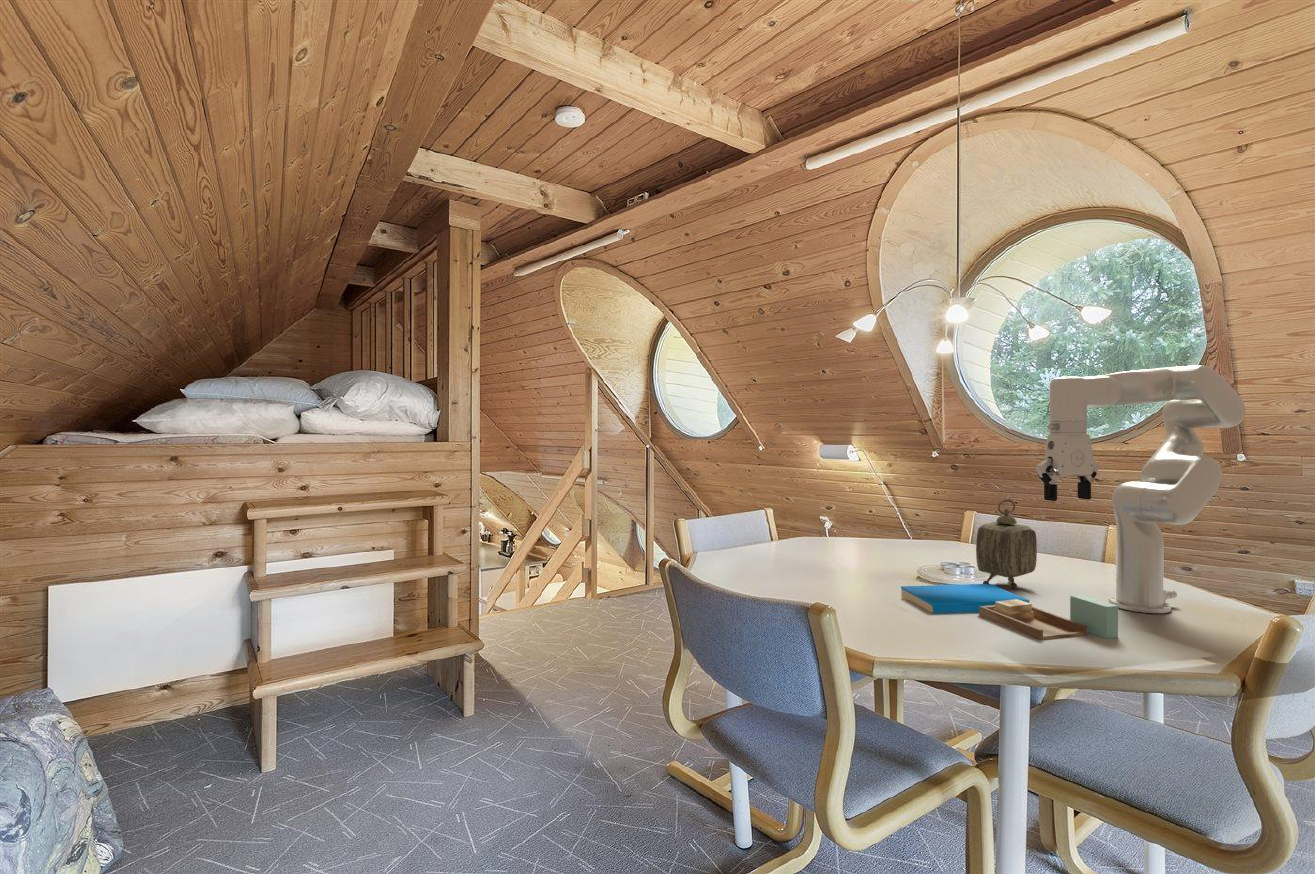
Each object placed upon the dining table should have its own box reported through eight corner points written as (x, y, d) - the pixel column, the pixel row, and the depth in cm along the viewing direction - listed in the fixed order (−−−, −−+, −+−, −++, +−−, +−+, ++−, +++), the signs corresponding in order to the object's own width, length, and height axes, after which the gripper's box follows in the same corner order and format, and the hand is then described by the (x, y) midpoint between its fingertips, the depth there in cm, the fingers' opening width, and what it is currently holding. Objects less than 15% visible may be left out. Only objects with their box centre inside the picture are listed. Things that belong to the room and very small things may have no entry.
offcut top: (1016, 606, 153) (1016, 599, 153) (1031, 611, 149) (1031, 603, 149) (995, 609, 151) (995, 601, 151) (1009, 614, 147) (1009, 606, 147)
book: (899, 586, 171) (988, 581, 173) (900, 602, 171) (988, 597, 173) (933, 604, 154) (1031, 599, 156) (933, 622, 154) (1031, 616, 156)
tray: (1021, 615, 155) (1022, 602, 155) (1086, 640, 138) (1086, 625, 138) (979, 619, 153) (979, 606, 153) (1039, 645, 135) (1039, 630, 135)
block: (1117, 640, 136) (1118, 605, 136) (1106, 642, 136) (1106, 606, 135) (1081, 627, 145) (1081, 594, 145) (1070, 628, 144) (1070, 595, 144)
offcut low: (1018, 613, 153) (1019, 606, 153) (1033, 619, 149) (1033, 611, 149) (993, 616, 152) (993, 608, 152) (1008, 621, 147) (1008, 614, 147)
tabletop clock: (1009, 580, 190) (1010, 496, 189) (1039, 587, 182) (1039, 499, 181) (975, 586, 184) (976, 499, 183) (1004, 593, 175) (1005, 502, 175)
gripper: (1050, 429, 148) (1050, 503, 148) (1111, 428, 152) (1111, 500, 152) (1025, 428, 155) (1024, 499, 156) (1084, 428, 159) (1083, 496, 160)
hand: (1067, 499), depth 154 cm, fingers open, 9 cm apart
